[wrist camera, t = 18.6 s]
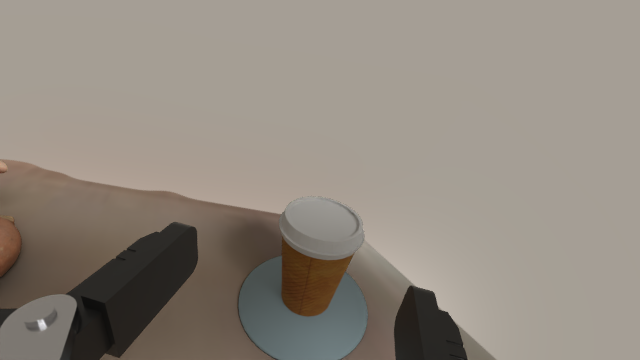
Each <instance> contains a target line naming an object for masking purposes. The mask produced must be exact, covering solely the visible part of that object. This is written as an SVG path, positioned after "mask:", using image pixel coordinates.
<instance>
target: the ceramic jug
mask: <svg viewBox="0 0 640 360" xmlns="http://www.w3.org/2000/svg"><path fill="white" fill-rule="evenodd" d="M7 169H8V168H7V166H6V164H5V163H4V162H2V161H0V173H5V172H7ZM20 250H21V236H20V233H19V231H18V229H17V228H16V227H15V225H14V218H13V217H11V216H2V215H0V277H1V276H2V275H3V274H5V273H6V272H7V271H8V270H9V269H10V268H11V266H12V265H13V264H14V263H15V261H16V259H17V258H18V256H19V253H20Z"/></svg>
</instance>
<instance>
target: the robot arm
mask: <svg viewBox="0 0 640 360" xmlns="http://www.w3.org/2000/svg"><path fill="white" fill-rule="evenodd" d="M197 261H198V249H197V230H196V228H195V227H193V226H189V225H185V224H181V223H178V222H173V223H171V224H170V225H169V226H167V227H166V228H165V229H164V230H162V231H161V232H160V233H159V232H154V233H152V234H149V235H147V236H145V237H143V238H140V239H139V240H138V241H136V242H135V243H134V244H132V245H131V246H130V247H128V248H127V250H126V251H125V250H124V251H123V252H122V253H120V254H119V255H118V256H116V259H112V260H111V261H110V262H108V263H107V264H106V265H104V266H103V267H102V268H100V269H99V270H98V271H96V272H95V273H94V274H92V275H91V276H90V277H88V278H87V279H86V280H85V281H83V282H82V283H81V284H79V285H78V286H77V287H75V288H74V289H73V290H71V291H70V292H68V293H67V294H65V295H64V294H55V295H49V296H45V297H41V298H38V299H36V300H33V301H31V302H29V303H27V304H25V305H23V306H22V307H20V308H18V309H0V360H99V359H100V358H101V357H102V356H103V355H104V354H105V353H106V354H109V355H112V356H115V357H118V358H120V356H121V355H122V354H123V353H124V352H125V351H126V349H127V348H128V347H129V346H130V345H131V344H132V343H133V341H134V340H135V339H136V338H137V337H138V336H139V334H140V333H141V332H142V331H143V330H144V329H145V327H146V326H147V325H148V324H149V323H150V322H151V321H152V319H153V318H154V317H155V316H156V315H157V314H158V312H159V311H160V310H161V309H162V308H163V307H164V306H165V304H166V303H167V302H168V301H169V300H170V299H171V297H172V296H173V295H174V294H175V293H176V292H177V291H178V289H179V288H180V287H181V286H182V285H183V284H184V282H185V281H186V280H187V279H188V278H189V277H190V275H191V274H192V273H193V271H194V269H195V267H196V265H197ZM394 339H395V356H396V360H468V359H467V355H466V352H465V349H464V348H463V342H462V339H461V335H460V332H459V329H458V327H457V325H456V324H455V322H454V321H453V319H452V318H451V316H450V315H449V314H448V312H445V311H441V310H439V309H438V305H437V301H436V297H435V294H434V292H433V291H429V290H425V289H422V288H418V287H414V286H409V288H408V290H407V292H406V294H405V297H404V299H403V301H402V304H401V306H400V309H399V311H398V313H397V316H396V320H395V327H394Z"/></svg>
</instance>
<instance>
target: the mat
mask: <svg viewBox="0 0 640 360" xmlns="http://www.w3.org/2000/svg"><path fill="white" fill-rule="evenodd" d="M281 288H282V256H279V257H275V258H272V259H270V260H267V261H266V262H264V263H262V264H260V265H259V266H258V267H256V268H255V269H254V270H253V271H252V272H251V273H250V274H249V275H248V277H247V278H246V280H245V281H244V283H243V285H242V288H241V290H240V295H239V304H238V308H239V316H240V320H241V323H242V325H243V328H244V330H245V332H246V333H247V335H248V336H249V338H250V339H251V340H252V341H253V343H254V344H255V345H256V346H257V347H258V348H260V349H261V350H262V351H263V352H264V353H266V354H268V355H269V356H271V357H272V358H274V359H277V360H340V359H342V358H344V357H345V356H347V355H348V354H349V353H350V352H352V351H353V350H354V349H355V348H356V346H357V345H358V344H359V342H360V341H361V339H362V337H363V335H364V332H365V329H366V326H367V320H368V312H367V305H366V301H365V298H364V296H363V293H362V291H361V290H360V288H359V286H358V285H357V284H356V282H355V281H354V280H353V279H352V278H351V277H350V275H348V274H347V273H346V272H345V273H344V275H343V277H342V279H341V281H340V283H339V285H338V287H337V289H336V291H335V293H334V296H333V298H332V300H331V302H330V304H329V306H328V308H327V309H326V310H325V311H324V312H323V313H321V314H319V315H316V316H309V317H307V316H301V315H298V314H296V313H294V312H292V311H291V310H289V309H288V308H287V307H286V305H285V304H284V302H283V300H282V296H281V291H282V290H281Z"/></svg>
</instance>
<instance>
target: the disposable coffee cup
mask: <svg viewBox="0 0 640 360" xmlns="http://www.w3.org/2000/svg"><path fill="white" fill-rule="evenodd" d="M279 228H280V230H281V234H282V288H281V290H282V291H281V296H282V300H283V302H284V304H285V305H286V307H287V308H288V309H289V310H291V311H292V312H294V313H296V314H298V315H301V316H307V317H309V316H316V315H319V314H321V313H323V312H324V311H325V310H326V309H327V308H328V306H329V304H330V302H331V300H332V298H333V296H334V293H335V291H336V289H337V287H338V285H339V283H340V281H341V279H342V277H343V275H344V273H345V271H346V269H347V267H348V265H349V263H350V261H351V259H352V256H353V255H354V253H355V252H356V251H357V250H358V249H359V248H360V247H361V245H362V243H363V241H364V231H363V223H362V220H361V218H360V216H359V215H358V214H357V213H356V212H355V211H354V210H353V209H351V208H350V207H349V206H347V205H345V204H343V203H341V202H339V201H336V200H333V199H329V198H324V197H314V196H313V197H311V196H310V197H309V196H308V197H302V198H298V199H296V200H294V201H292V202H290V203H289V204H288V206H287V207H286V209H285V211H284V212H283V213H282V214H281V216H280V219H279Z"/></svg>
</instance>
